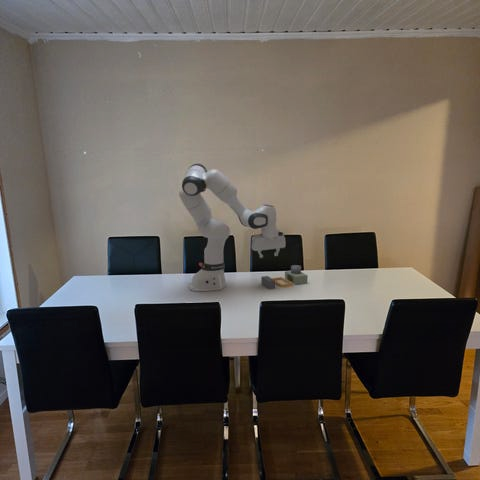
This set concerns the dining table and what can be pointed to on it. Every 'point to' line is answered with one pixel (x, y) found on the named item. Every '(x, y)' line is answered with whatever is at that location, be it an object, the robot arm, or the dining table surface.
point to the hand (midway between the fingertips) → (268, 256)
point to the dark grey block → (268, 282)
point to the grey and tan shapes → (292, 277)
